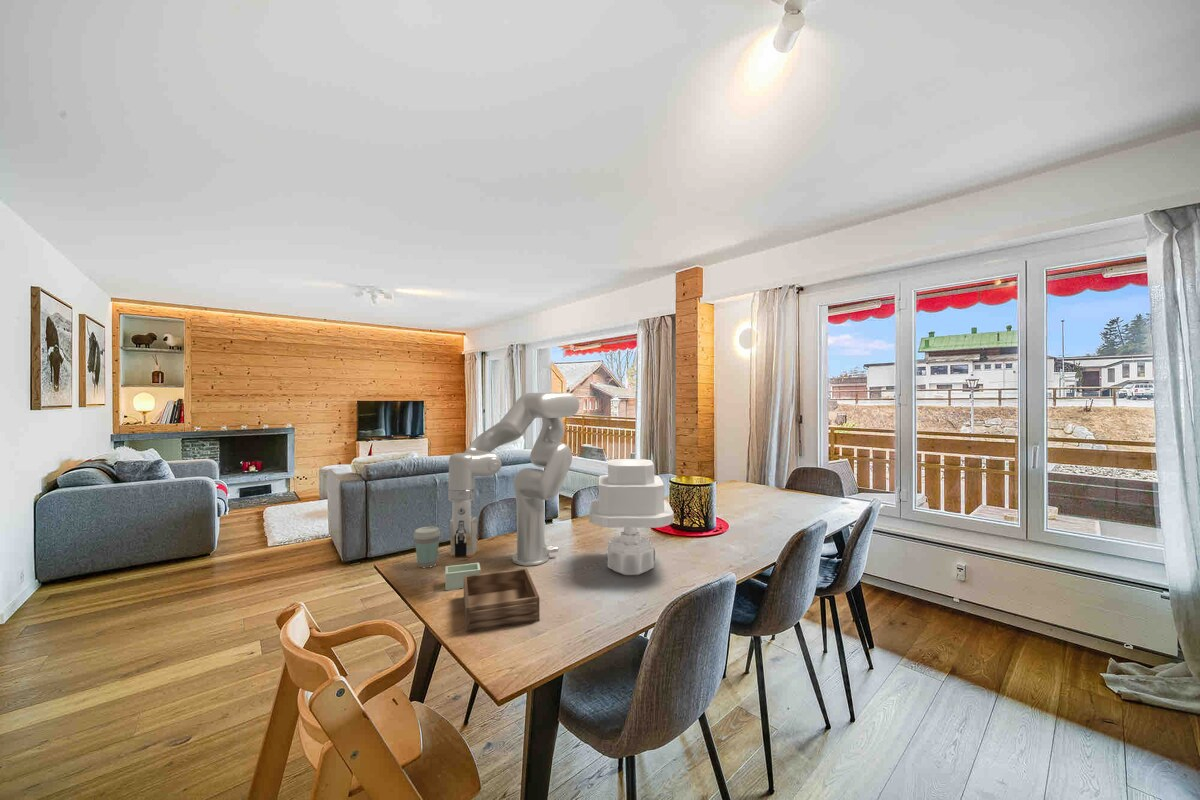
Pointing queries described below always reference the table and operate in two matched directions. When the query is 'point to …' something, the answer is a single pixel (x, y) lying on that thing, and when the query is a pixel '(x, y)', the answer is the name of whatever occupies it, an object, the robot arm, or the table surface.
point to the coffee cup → (427, 545)
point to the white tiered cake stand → (630, 512)
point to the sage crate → (459, 574)
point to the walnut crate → (500, 600)
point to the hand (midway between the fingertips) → (460, 551)
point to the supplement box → (470, 539)
